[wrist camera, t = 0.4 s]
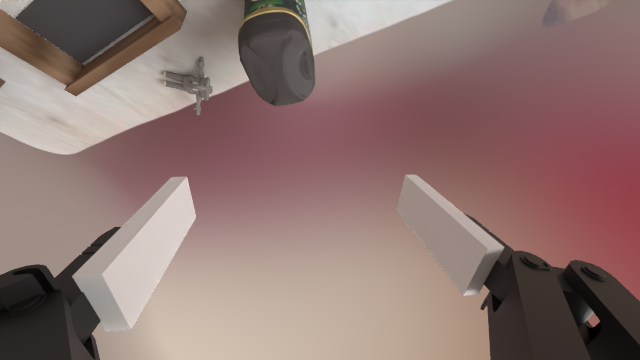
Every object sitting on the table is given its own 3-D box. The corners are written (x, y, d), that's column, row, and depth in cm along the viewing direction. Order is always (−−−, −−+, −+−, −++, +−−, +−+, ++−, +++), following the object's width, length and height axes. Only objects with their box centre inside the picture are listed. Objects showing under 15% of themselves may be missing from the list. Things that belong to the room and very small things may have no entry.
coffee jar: (309, 28, 37) (322, 106, 28) (264, 38, 38) (261, 118, 29) (296, -51, 29) (307, 22, 20) (237, -37, 30) (222, 41, 20)
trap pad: (16, 17, 32) (15, 18, 32) (101, -62, 27) (100, -61, 26) (82, 62, 38) (81, 63, 38) (162, 5, 33) (161, 6, 33)
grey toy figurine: (153, 43, 37) (204, 55, 37) (179, 53, 43) (224, 64, 42) (152, 105, 40) (200, 117, 39) (177, 107, 46) (219, 117, 45)
